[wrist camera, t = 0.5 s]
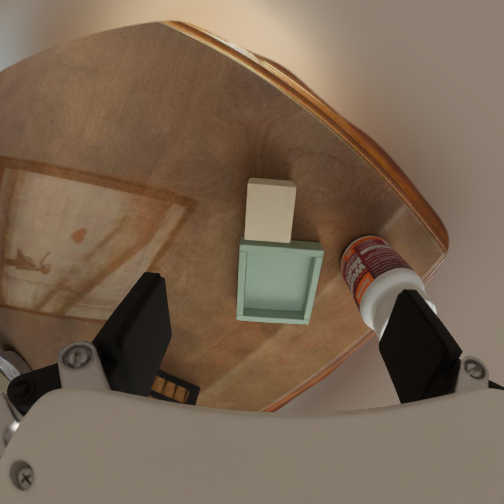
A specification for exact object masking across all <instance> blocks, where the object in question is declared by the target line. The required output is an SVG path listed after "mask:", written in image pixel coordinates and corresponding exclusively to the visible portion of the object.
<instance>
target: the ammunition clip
mask: <svg viewBox="0 0 504 504" xmlns="http://www.w3.org/2000/svg"><path fill="white" fill-rule="evenodd" d="M163 387H164V388H163ZM162 390H163V391H162ZM199 390H200V388H199V387H197V386H195V385H192V384H190V383H188V382H185V381H183V380H181V379H178V378H176V377H174V376H172V375H169V374H167V373H165V372H163V371H161V370H159V369H158V372H157V374H156V377H155V379H154V382H153V384H152V387H151V389H150V392H149V395H148V398H153V399H158V400H163V401H169V402H175V403H181V404H187V405H194V406H195V404H196V401H197V397H198V394H199ZM174 391H175V392H174ZM161 393H162V394H161ZM173 394H174V395H173ZM172 397H173V399H172ZM184 397H185V398H184ZM183 401H184V402H183Z"/></svg>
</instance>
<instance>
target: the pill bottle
mask: <svg viewBox="0 0 504 504" xmlns="http://www.w3.org/2000/svg"><path fill="white" fill-rule="evenodd" d="M341 272H342V275H343V277H344V280H345V282H346V284H347V286H348V288H349V290H350V292H351V294H352V296H353V298H354V300H355V302H356V305H357V307H358V309H359V312H360V314H361V317H362V318H363V320H364V322H365V323H366V325H367V326H369V327H370V328H371V329H373V330H375V333H376V335H377V336H378V338H379V341H380V340H381V337H382V335H383V332H384V330H385V328H386V325H387V323H388V320H389V317H390V315H391V312H392V309H393V307H394V304H395V301H396V298H397V296H398V294H399V293H401V292H402V290H404V289H414V290H417V291H418V292H419V294H420V295H421V296H422V297H423V299H424V300H425V301H426V302H427V304H428V305H429V306H430V307H431V309H432V310H433V311H434V313H435V314H436V315H437V311H436V307H435V305H434V304H433V302H432V301H431V300H430V299H429V297H428V296H427V294H426V293H425V288H424V284H423V282H422V280H421V278H420V277H419V276H418V275H417V273H416V272H415V271H414V270H413V269H412V268H411V267H410V266H409V265H408V263H407V262H406V261H405V260H404V259H403V258H402V257H401V256H400V255H399V254H398V253H397V252H396V251H395V250H394V249H393V248H392V246H391V245H390V244H389V243H388V242H386V241H385V240H384V239H382V238H380V237H377V236H364V237H361V238H358V239H357V240H355V241H353V242H352V243H351V244H350V245H349V246H348V247H347V249H346V250H345V252H344V254H343V256H342V259H341Z"/></svg>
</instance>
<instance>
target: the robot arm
mask: <svg viewBox="0 0 504 504" xmlns="http://www.w3.org/2000/svg"><path fill="white" fill-rule="evenodd" d="M171 335H172V331H171V324H170V317H169V310H168V302H167V294H166V285H165V279H164V278H163V277H161V276H160V274H159V273H151V272H145V273H144V274H143V275H142V276H141V278H140V279H139V280H138V281H137V283H136V284H135V285H134V286H133V288H132V289H131V290H130V292H129V293H128V294H127V296H126V297H125V298H124V299H123V301H122V302H121V303H120V304H119V306H118V307H117V308H116V310H115V311H114V312H113V314H112V315H111V316H110V318H109V319H108V320H107V322H106V323H105V325H104V326H103V327H102V329H101V330H100V332H99V333H98V334H97V336H96V337H95V339H94V340H93V342H92V343H90V342H87V341H74V342H71V343H69V344H67V345H66V346H64V347H63V348H62V349H61V351H60V352H59V355H58V363H56V364H53V365H50V366H47V367H44V368H41V369H38V370H35V371H31V372H28V373H25V374H22V375H19V376H17V377H15V378H14V379H13V380H12V381H11V382H10V384H9V386H8V389H7V394H6V395H4V393H3V392H2V393H1V394H0V504H504V387H502V386H500V385H498V384H496V383H494V382H492V381H490V380H489V373H488V369H487V367H486V365H485V364H484V363H483V362H482V361H481V360H480V359H478V358H476V357H473V356H466V357H464V358H463V359H462V360H461V361H460V359H459V357H460V355H461V353H462V350H461V349H460V347H459V346H458V344H457V343H456V341H455V340H454V338H453V337H452V336H451V334H450V333H449V331H448V330H447V329H446V327H445V326H444V325H443V323H442V322H441V321H440V319H439V318H438V317H437V315H436V314H435V313H434V311H433V310H432V309H431V307H430V306H429V305H428V304H427V302H426V301H425V300H424V299H423V297H422V296H421V295H420V294H419V292H418V291H417V290H414V289H404V290H402V292H401V293H399V294H398V296H397V298H396V301H395V304H394V307H393V309H392V312H391V315H390V317H389V320H388V323H387V325H386V328H385V330H384V332H383V335H382V337H381V340H380V342H379V351H380V353H381V355H382V358H383V360H384V362H385V365H386V367H387V369H388V372H389V374H390V377H391V379H392V382H393V384H394V387H395V389H396V392H397V394H398V397H399V400H400V402H401V404H398V405H392V406H385V407H377V408H369V409H360V410H350V411H336V412H317V413H315V412H314V413H273V412H251V411H237V410H226V409H217V408H208V407H201V406H194V405H187V404H181V403H175V402H169V401H163V400H158V399H153V398H148V395H149V392H150V389H151V387H152V384H153V382H154V379H155V377H156V374H157V372H158V369H159V367H160V364H161V362H162V359H163V357H164V354H165V352H166V350H167V347H168V345H169V342H170V340H171Z"/></svg>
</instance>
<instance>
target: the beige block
mask: <svg viewBox="0 0 504 504" xmlns="http://www.w3.org/2000/svg"><path fill="white" fill-rule="evenodd" d="M295 196H296V186H295V184H294V183H293V181H287V180H275V179H263V178H249V181H248V186H247V202H246V219H245V237H244V239H245V240H256V241H269V242H282V243H290V239H291V231H292V222H293V214H294V205H295Z"/></svg>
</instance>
